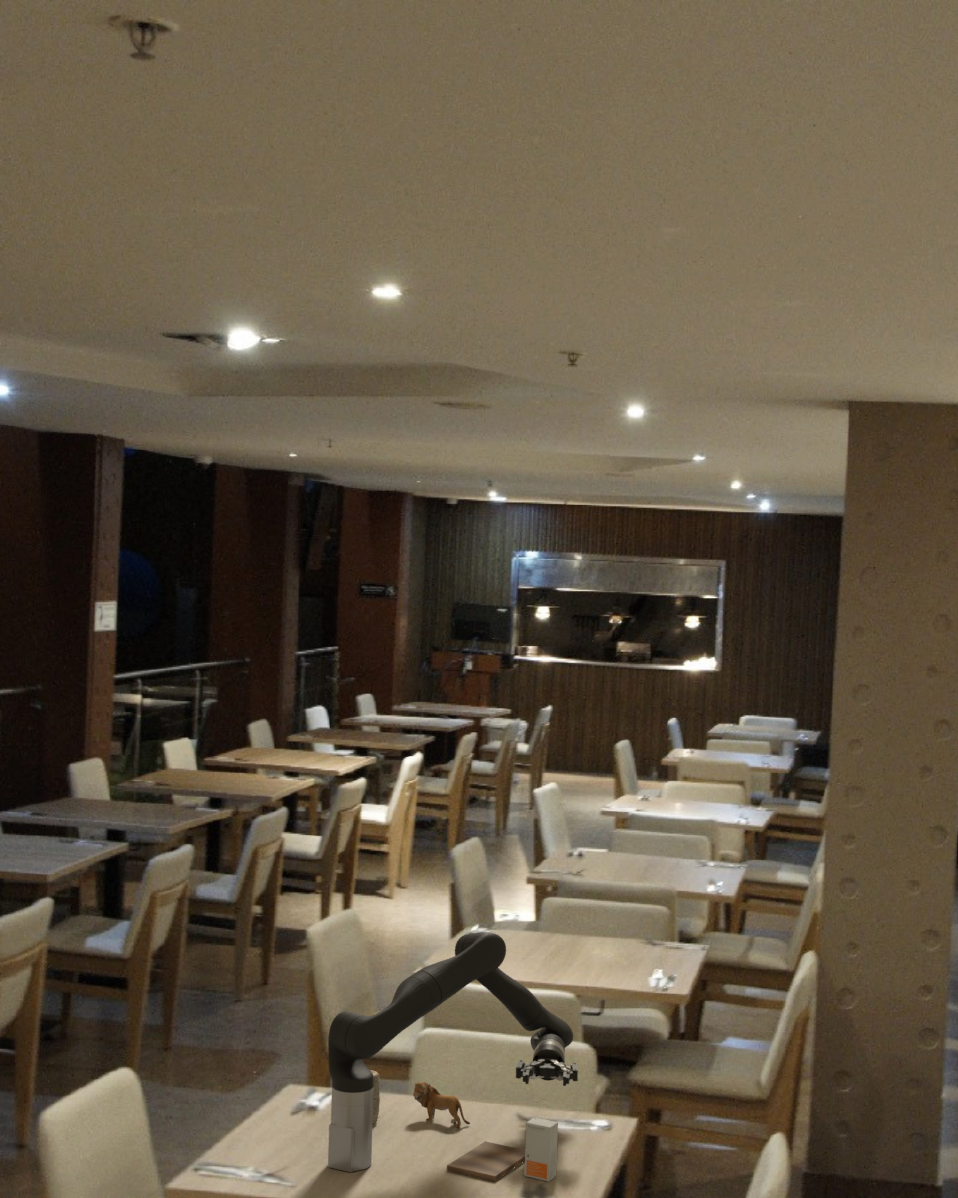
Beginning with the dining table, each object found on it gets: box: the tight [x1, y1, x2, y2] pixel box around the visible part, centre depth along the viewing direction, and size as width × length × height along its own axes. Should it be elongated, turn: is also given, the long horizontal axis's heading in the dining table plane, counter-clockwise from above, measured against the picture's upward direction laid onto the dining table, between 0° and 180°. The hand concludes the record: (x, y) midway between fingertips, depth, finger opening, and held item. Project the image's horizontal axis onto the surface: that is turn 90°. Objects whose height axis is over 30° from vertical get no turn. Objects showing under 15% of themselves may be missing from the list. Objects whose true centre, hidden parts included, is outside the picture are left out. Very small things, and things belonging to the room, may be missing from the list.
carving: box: [369, 1069, 381, 1125], centre depth 375 cm, size 6×8×12 cm
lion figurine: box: [412, 1081, 471, 1129], centre depth 377 cm, size 15×5×9 cm, turn 71°
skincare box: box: [523, 1117, 559, 1182], centre depth 343 cm, size 6×4×12 cm
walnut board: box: [446, 1141, 525, 1183], centre depth 350 cm, size 18×12×1 cm, turn 152°
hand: (545, 1080), depth 354 cm, fingers open, 8 cm apart
